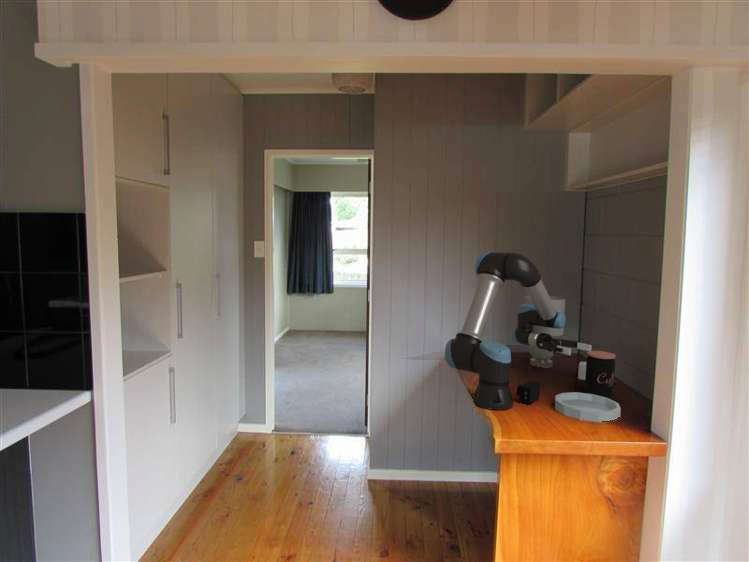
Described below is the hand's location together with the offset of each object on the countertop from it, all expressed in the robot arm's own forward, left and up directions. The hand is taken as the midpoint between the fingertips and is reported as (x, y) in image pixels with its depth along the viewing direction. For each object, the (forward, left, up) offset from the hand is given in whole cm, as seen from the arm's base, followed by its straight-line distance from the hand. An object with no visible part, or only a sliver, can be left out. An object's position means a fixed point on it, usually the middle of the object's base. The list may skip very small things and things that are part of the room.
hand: (580, 350), depth 200 cm
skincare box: (+20, +6, -18) cm, 27 cm away
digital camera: (-31, +5, -18) cm, 36 cm away
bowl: (-23, -15, -17) cm, 33 cm away
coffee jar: (-2, -10, -17) cm, 20 cm away
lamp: (+25, +32, -17) cm, 44 cm away
